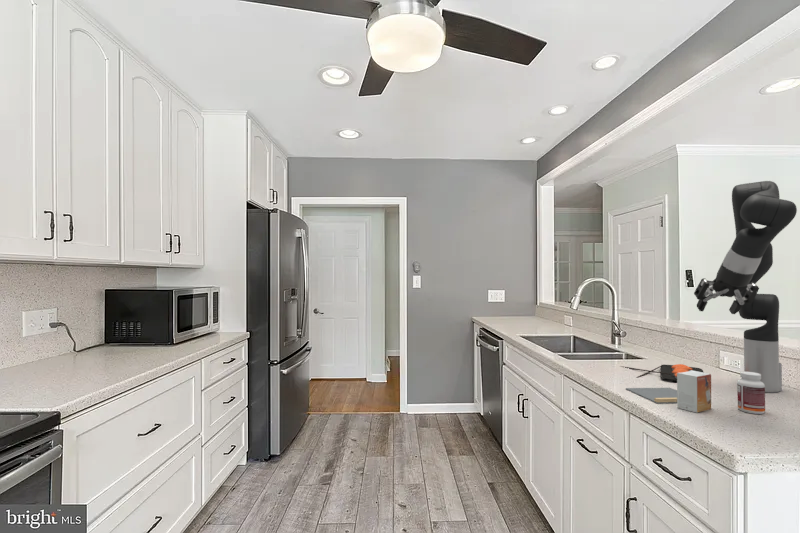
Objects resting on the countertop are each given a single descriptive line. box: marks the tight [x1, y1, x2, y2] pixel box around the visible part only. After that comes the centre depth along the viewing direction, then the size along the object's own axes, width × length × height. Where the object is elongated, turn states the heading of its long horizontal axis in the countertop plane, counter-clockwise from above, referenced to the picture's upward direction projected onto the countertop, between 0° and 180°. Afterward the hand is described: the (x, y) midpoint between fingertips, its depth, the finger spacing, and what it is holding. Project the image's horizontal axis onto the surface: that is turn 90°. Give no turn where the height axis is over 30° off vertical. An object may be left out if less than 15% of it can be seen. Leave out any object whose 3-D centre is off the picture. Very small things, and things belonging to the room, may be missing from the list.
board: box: [625, 387, 677, 405], centre depth 136 cm, size 16×16×1 cm
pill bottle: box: [736, 371, 766, 415], centre depth 121 cm, size 6×6×11 cm
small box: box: [676, 370, 712, 414], centre depth 123 cm, size 8×6×10 cm
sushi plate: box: [620, 363, 705, 383], centre depth 167 cm, size 29×30×4 cm
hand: (715, 311), depth 123 cm, fingers open, 8 cm apart
